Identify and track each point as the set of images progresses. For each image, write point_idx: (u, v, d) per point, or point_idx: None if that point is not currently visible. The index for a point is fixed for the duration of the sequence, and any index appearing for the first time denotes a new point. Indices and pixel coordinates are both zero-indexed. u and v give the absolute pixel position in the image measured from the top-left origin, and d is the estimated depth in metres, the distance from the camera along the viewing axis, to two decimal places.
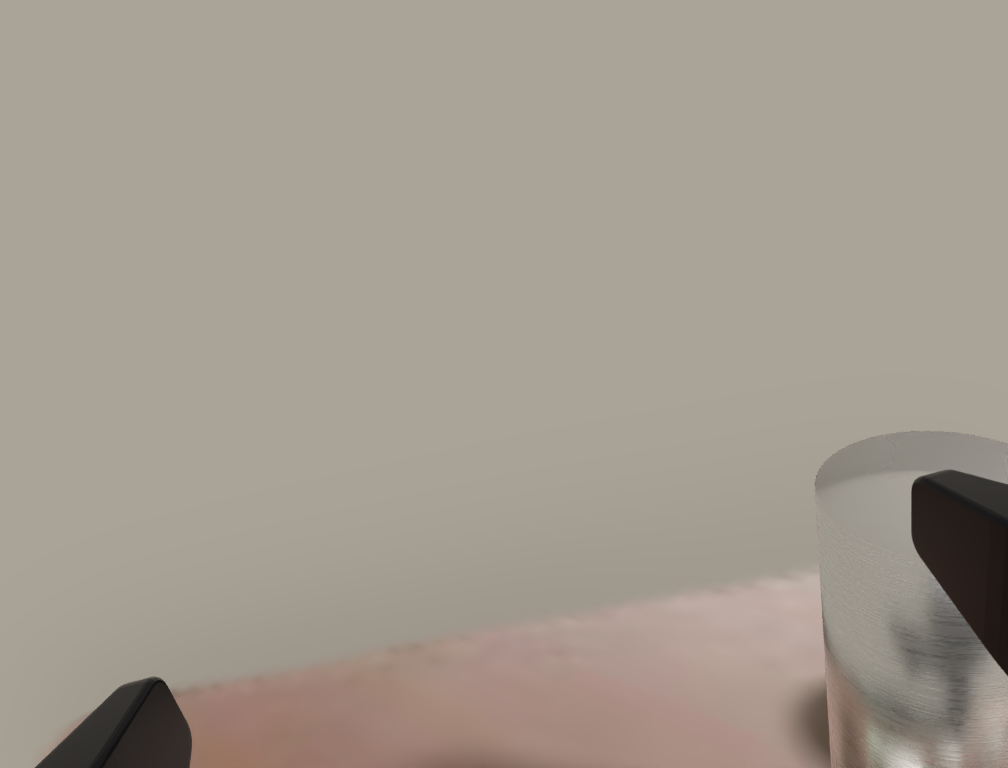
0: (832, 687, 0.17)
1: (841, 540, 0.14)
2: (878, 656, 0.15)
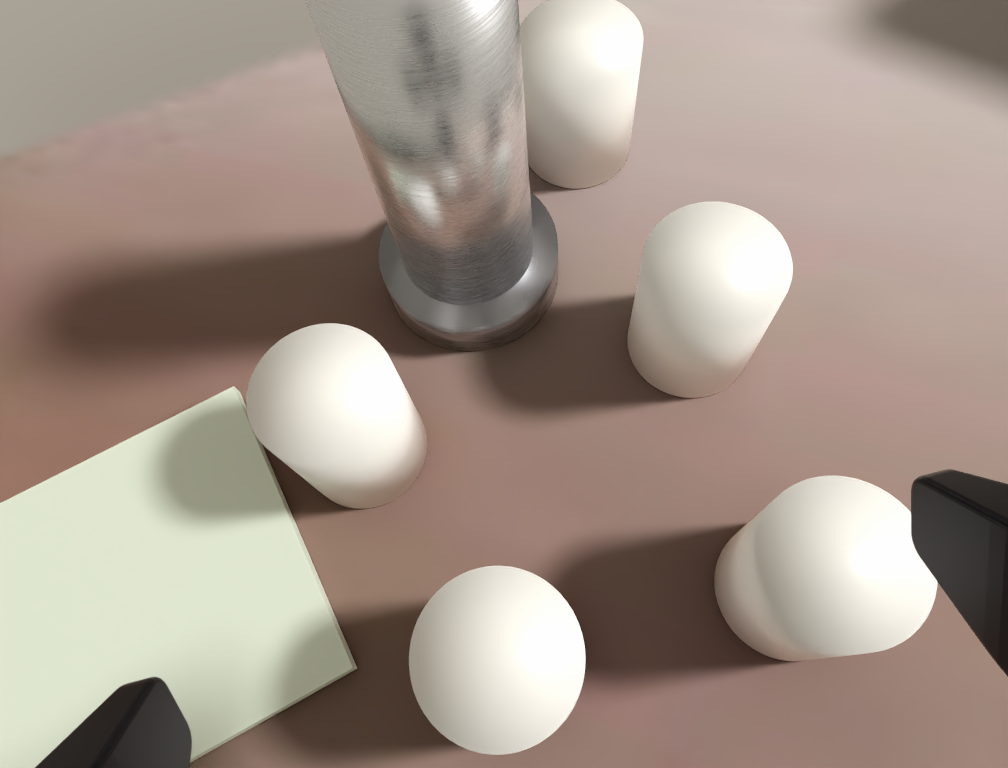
0: None
1: (311, 0, 0.14)
2: (368, 109, 0.16)
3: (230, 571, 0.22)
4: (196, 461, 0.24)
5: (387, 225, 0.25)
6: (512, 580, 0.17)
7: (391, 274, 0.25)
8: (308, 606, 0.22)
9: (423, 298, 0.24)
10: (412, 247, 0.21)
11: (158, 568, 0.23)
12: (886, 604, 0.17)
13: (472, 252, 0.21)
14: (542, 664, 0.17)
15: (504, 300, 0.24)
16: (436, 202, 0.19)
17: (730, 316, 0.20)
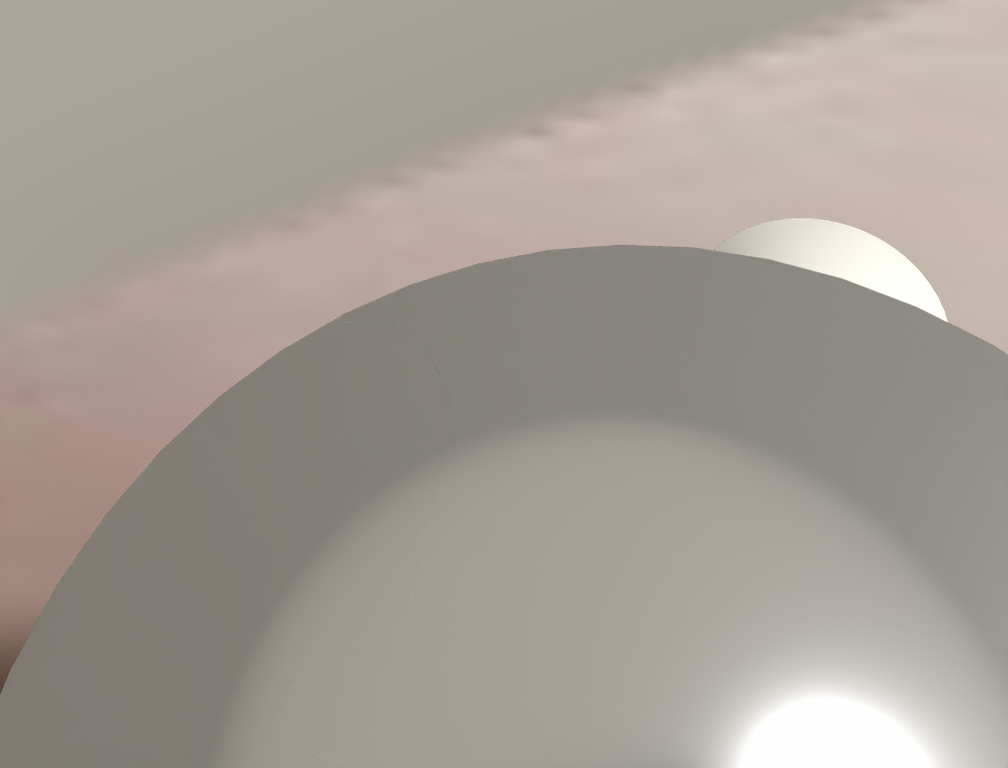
0: None
1: None
2: None
3: None
4: None
5: None
6: None
7: None
8: None
9: None
10: None
11: None
12: None
13: None
14: None
15: None
16: None
17: None
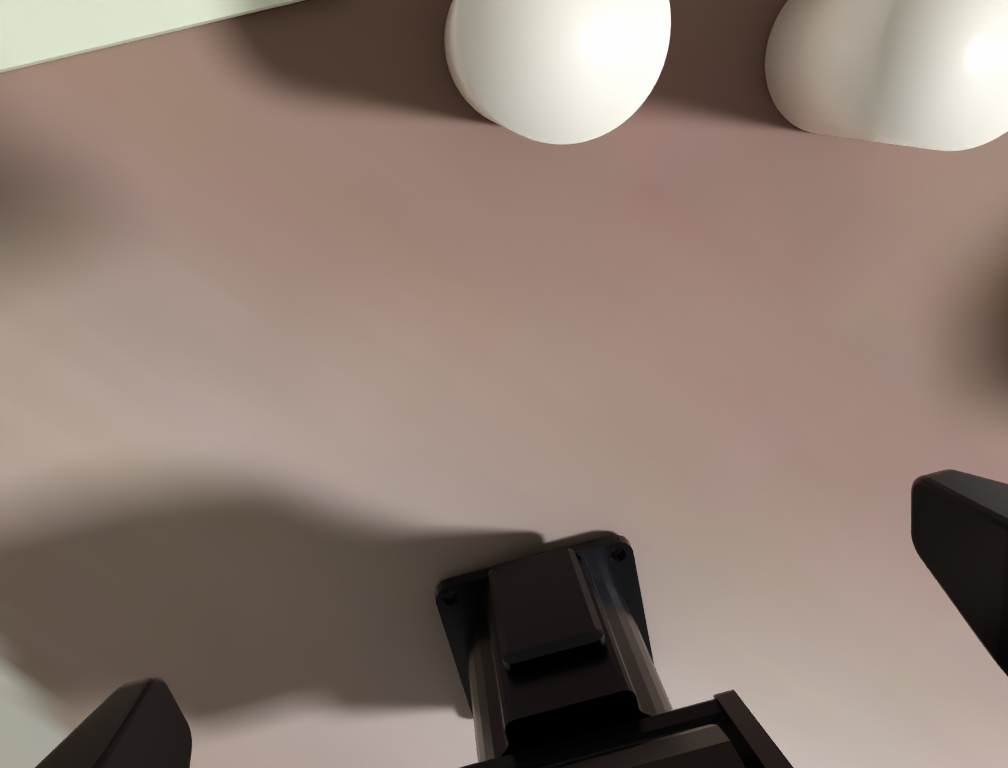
0: None
1: None
2: None
3: None
4: None
5: None
6: None
7: None
8: None
9: None
10: None
11: None
12: (979, 106, 0.15)
13: None
14: (613, 58, 0.14)
15: None
16: None
17: None
